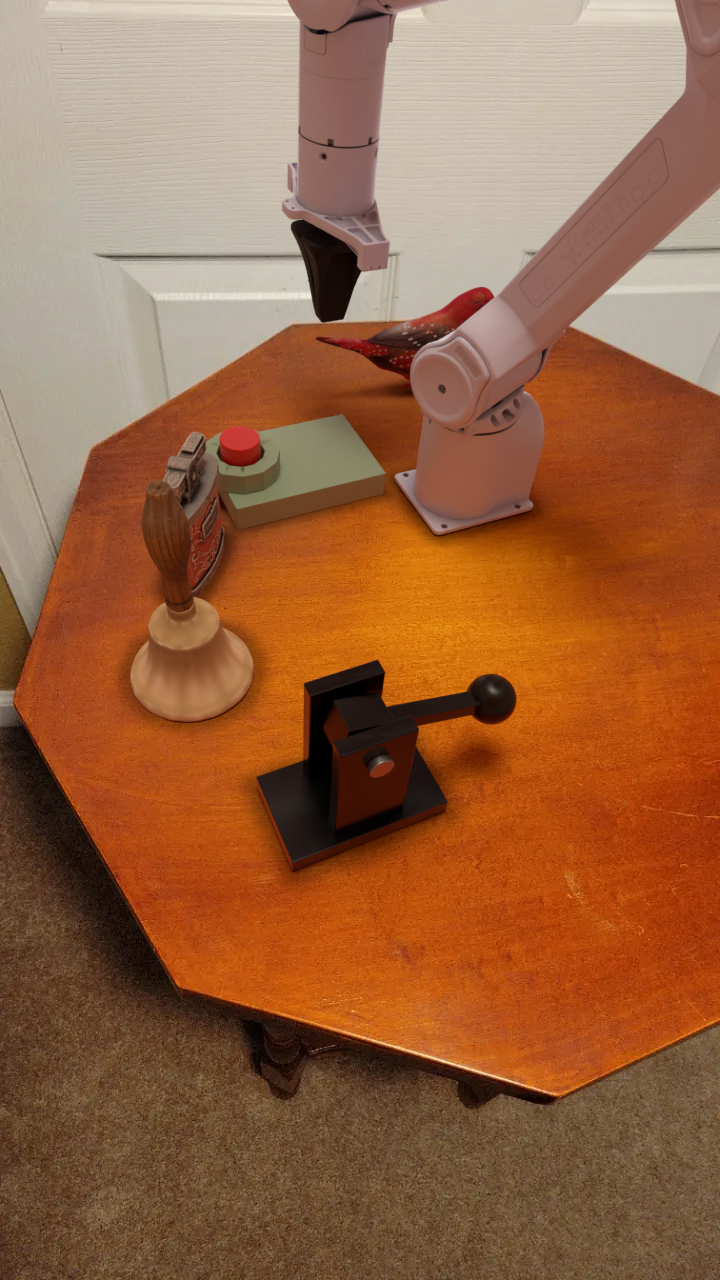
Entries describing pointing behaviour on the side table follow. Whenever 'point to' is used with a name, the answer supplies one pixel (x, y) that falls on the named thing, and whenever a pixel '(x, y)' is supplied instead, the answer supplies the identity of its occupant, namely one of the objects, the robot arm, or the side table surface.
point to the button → (240, 446)
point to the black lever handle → (423, 708)
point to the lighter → (198, 507)
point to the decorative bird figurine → (414, 334)
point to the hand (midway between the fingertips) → (329, 317)
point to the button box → (299, 472)
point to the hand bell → (184, 629)
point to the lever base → (348, 777)
